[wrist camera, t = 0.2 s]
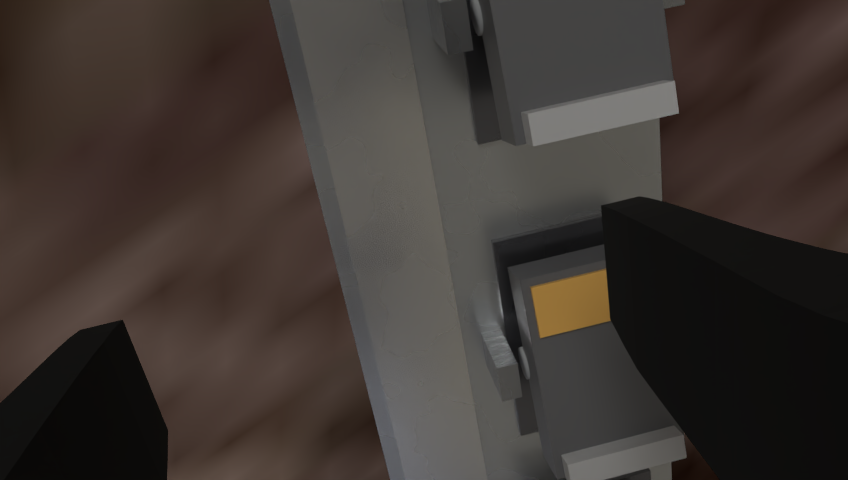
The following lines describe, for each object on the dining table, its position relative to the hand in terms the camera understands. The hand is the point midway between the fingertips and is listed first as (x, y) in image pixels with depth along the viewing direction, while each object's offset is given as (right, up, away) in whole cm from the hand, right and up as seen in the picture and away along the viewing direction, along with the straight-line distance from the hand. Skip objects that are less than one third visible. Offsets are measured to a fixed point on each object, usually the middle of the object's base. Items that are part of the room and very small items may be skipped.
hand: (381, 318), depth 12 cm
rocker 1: (+3, +6, +4) cm, 8 cm away
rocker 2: (+5, -1, +8) cm, 9 cm away
